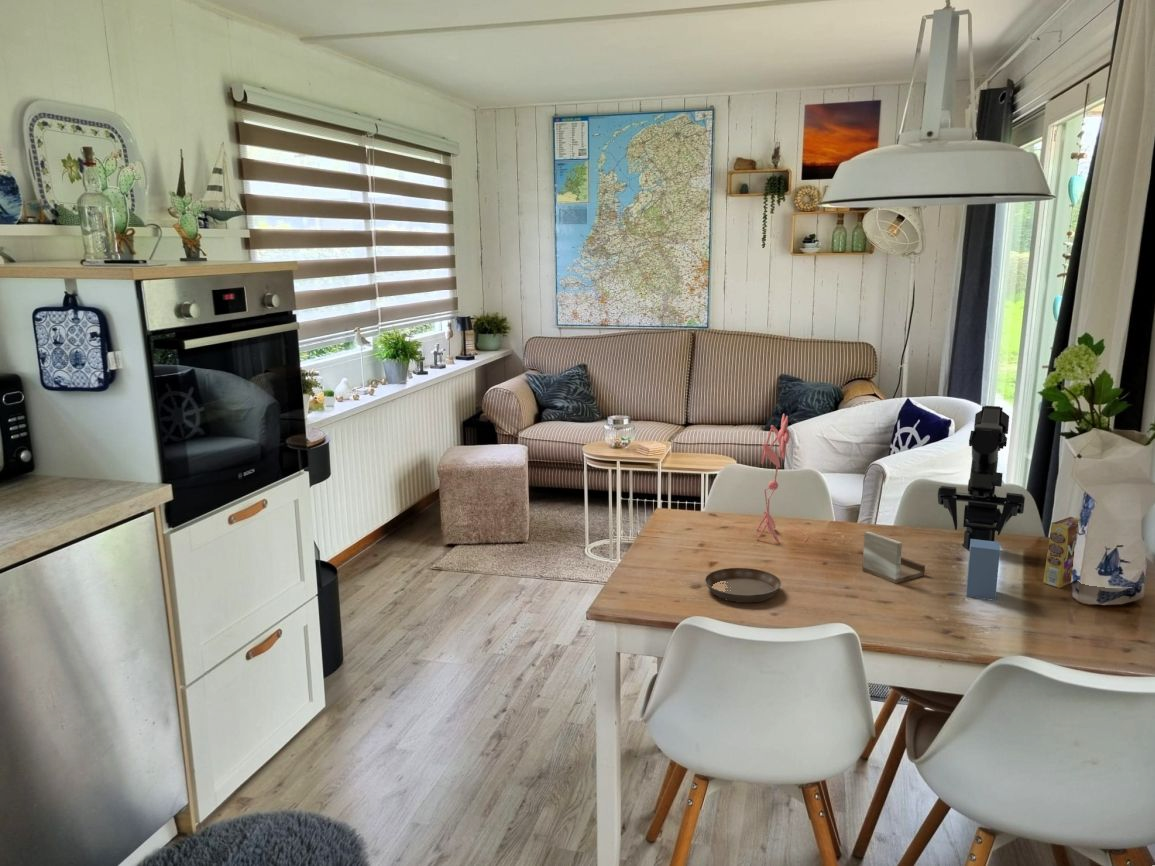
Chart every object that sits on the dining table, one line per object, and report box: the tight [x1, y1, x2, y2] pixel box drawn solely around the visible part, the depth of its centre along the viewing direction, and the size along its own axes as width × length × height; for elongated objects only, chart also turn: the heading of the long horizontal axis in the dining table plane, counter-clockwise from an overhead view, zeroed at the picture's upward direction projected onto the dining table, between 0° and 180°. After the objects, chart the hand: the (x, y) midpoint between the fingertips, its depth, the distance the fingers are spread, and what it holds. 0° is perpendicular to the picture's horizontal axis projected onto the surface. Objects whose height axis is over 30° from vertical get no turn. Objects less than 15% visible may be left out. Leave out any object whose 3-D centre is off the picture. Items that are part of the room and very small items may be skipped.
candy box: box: [1043, 516, 1080, 589], centre depth 199 cm, size 9×4×15 cm, turn 123°
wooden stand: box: [861, 531, 926, 584], centre depth 207 cm, size 10×10×10 cm
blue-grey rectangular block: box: [965, 539, 1001, 601], centre depth 193 cm, size 7×6×12 cm
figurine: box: [753, 413, 809, 548], centre depth 232 cm, size 15×26×35 cm, turn 168°
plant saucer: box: [704, 567, 782, 603], centre depth 197 cm, size 18×18×3 cm
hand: (976, 532), depth 198 cm, fingers open, 9 cm apart
